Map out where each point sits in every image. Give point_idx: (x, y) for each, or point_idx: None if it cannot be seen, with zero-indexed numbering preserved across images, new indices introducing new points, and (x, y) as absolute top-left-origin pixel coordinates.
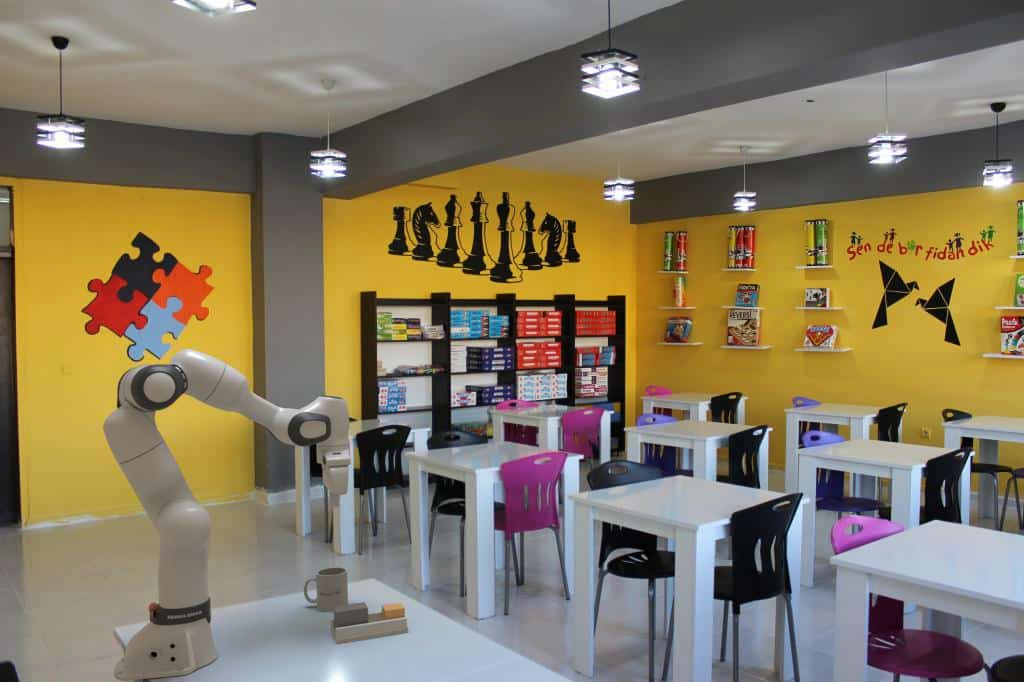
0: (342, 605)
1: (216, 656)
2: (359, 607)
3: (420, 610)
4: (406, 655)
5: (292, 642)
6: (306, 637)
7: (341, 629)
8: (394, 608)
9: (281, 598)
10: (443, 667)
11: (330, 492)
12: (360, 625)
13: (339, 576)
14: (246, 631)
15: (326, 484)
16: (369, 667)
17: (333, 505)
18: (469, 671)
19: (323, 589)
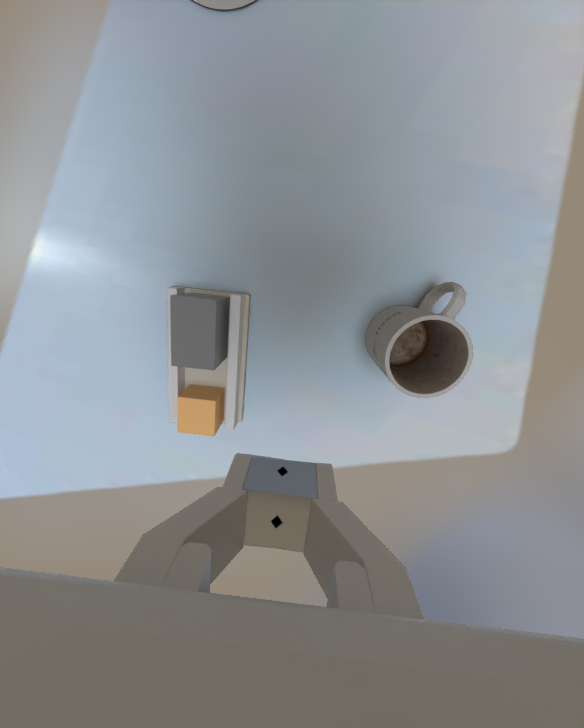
0: (213, 321)
1: (200, 2)
2: (181, 350)
3: None
4: (74, 374)
5: (223, 205)
6: (238, 239)
7: (168, 298)
8: (184, 415)
9: (540, 247)
10: (8, 404)
11: (334, 571)
12: (169, 337)
13: (383, 366)
14: (350, 114)
15: (464, 711)
16: (42, 306)
17: (233, 465)
18: None
19: (391, 320)
